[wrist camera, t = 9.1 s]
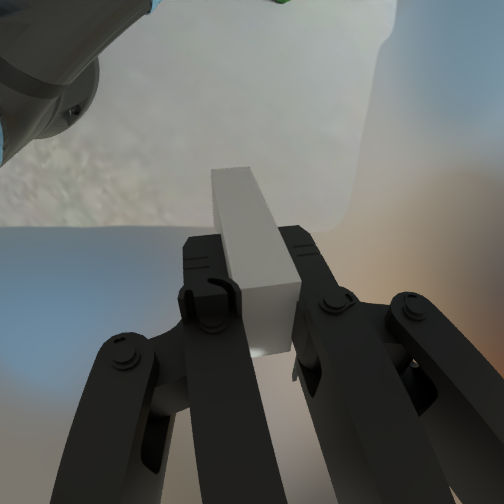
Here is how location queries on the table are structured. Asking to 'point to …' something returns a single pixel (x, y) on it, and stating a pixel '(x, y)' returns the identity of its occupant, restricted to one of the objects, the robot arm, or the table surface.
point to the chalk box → (282, 1)
